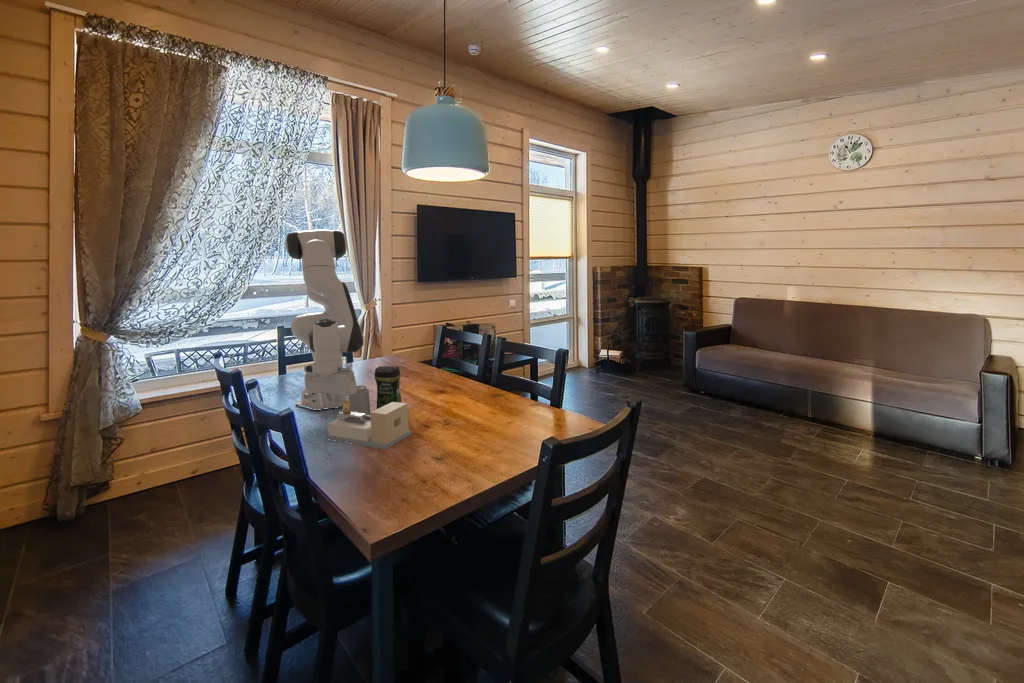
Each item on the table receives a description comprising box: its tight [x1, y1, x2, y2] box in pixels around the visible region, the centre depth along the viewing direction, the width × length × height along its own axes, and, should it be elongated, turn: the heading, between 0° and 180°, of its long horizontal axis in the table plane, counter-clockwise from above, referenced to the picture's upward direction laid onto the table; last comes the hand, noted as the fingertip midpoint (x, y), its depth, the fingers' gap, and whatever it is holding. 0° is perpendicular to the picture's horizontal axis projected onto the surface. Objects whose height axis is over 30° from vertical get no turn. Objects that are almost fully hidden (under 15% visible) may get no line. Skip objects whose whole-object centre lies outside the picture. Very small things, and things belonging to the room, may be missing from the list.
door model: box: [326, 402, 412, 450], centre depth 166 cm, size 24×14×12 cm, turn 68°
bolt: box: [336, 401, 366, 420], centre depth 168 cm, size 10×3×6 cm, turn 68°
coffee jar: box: [374, 365, 403, 409], centre depth 192 cm, size 10×8×19 cm
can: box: [349, 385, 371, 415], centre depth 187 cm, size 8×8×12 cm
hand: (332, 405), depth 171 cm, fingers closed
